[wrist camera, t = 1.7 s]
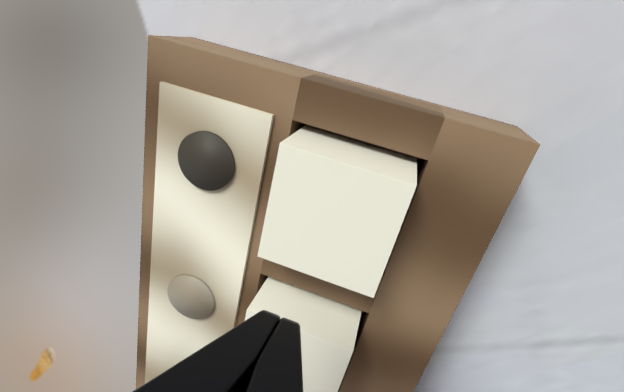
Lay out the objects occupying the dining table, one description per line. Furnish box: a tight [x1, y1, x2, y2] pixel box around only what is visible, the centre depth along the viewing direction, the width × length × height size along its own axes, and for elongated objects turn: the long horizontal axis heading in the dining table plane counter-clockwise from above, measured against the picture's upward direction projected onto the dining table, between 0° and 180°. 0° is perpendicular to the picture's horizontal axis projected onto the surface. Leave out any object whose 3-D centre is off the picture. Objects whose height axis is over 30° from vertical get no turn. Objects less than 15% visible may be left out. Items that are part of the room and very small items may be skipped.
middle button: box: [245, 276, 362, 392], centre depth 16 cm, size 4×4×3 cm
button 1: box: [257, 125, 417, 298], centre depth 14 cm, size 4×4×3 cm
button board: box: [136, 35, 540, 392], centre depth 18 cm, size 22×14×3 cm, turn 166°
